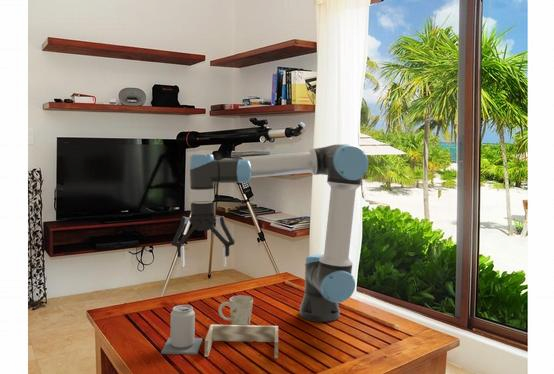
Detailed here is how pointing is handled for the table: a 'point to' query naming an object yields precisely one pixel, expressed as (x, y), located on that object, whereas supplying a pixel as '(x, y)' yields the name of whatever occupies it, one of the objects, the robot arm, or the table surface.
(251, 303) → the mug
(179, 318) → the can
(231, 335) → the u-shaped shelf bracket
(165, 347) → the mat
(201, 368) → the table surface
